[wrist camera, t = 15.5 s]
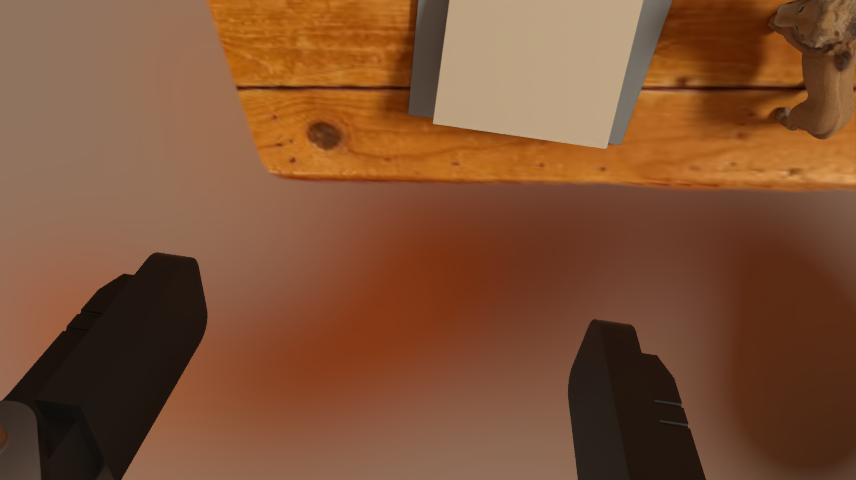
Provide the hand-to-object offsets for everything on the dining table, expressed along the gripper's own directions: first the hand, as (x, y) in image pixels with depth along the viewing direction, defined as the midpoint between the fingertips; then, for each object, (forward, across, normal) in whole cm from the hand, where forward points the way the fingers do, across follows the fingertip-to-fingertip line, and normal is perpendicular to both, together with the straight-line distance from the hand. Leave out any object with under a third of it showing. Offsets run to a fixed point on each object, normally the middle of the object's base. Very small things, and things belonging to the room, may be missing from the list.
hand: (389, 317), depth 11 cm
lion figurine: (+38, -26, +3) cm, 46 cm away
